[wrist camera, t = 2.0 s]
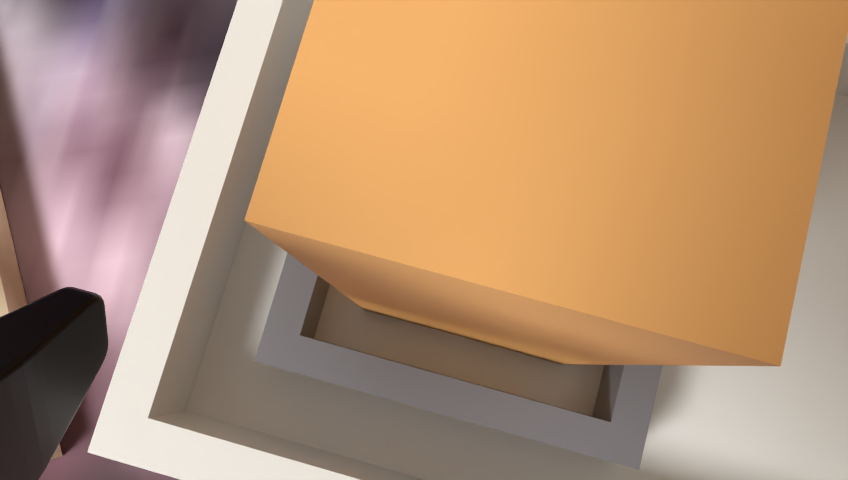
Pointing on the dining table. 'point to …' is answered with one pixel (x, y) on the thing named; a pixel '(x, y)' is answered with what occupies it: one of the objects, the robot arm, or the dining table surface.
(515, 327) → the block
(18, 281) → the wooden board
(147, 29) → the dining table surface
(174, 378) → the equipment case
